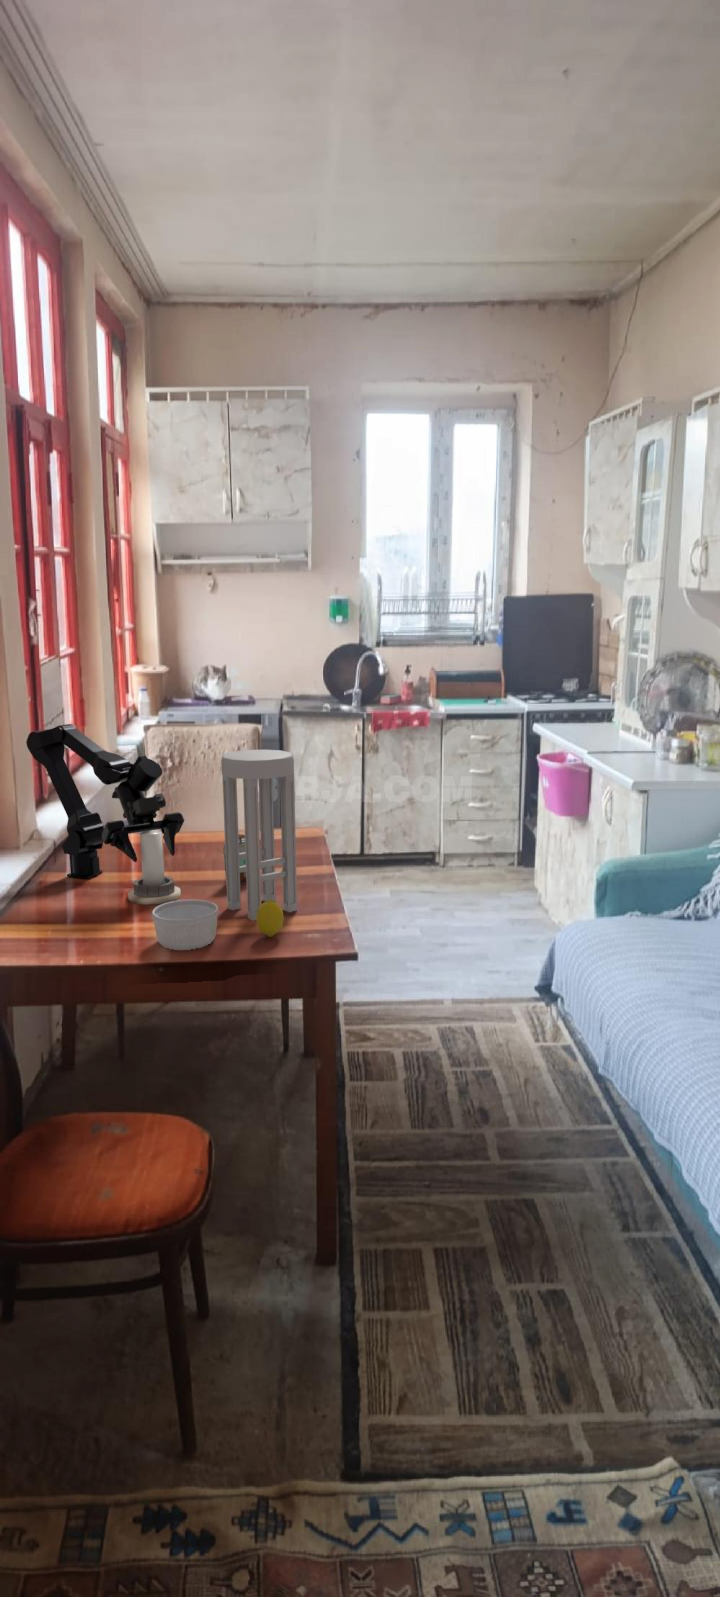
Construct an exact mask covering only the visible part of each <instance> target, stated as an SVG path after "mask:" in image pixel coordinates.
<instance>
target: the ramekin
mask: <svg viewBox="0 0 720 1597" xmlns="http://www.w3.org/2000/svg"><path fill="white" fill-rule="evenodd" d="M218 916H219V906H218V905H217V904H216V903H215V902H212V901H208V900H203V899H177V900H174V901H171V902H168V903H162V904H158V905H157V906H155V908H154V909H152V911H151V918H152V921H153V924H154V931H155V936H156V939H157V941H158V944H160V945H161V946H162V947H163V948H165V949H167V948H169V949H168V950H172V949H173V950H174V951H191V949H193V950H197V949H196V948H198V949H202V948H205V947H206V945H207V946H208V944H209V945H210V944H211V943H213V941H214V940H215V937H216V935H217V928H218V927H217V926H218ZM204 946H205V947H204Z"/></svg>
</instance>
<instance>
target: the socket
mask: <svg viewBox="0 0 720 1597" xmlns="http://www.w3.org/2000/svg"><path fill="white" fill-rule="evenodd" d="M164 877H165V882H166V884H163V885H158V886H144V885H142V883H143V877H140V878H137V879H136V880H134V881H133V884H132V885H133V888H132V889H131V890H129V891H128V893H127V898H128V901H129V902H131V903H133V904H137V905H148V906H149V905H161V904H164V903H168V902H172V901H178V900H179V899H180V898H181V894H182V893H181V888H180V887H179V886H175V878H173V877H171V876H165V875H164Z"/></svg>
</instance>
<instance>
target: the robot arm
mask: <svg viewBox="0 0 720 1597" xmlns="http://www.w3.org/2000/svg"><path fill="white" fill-rule="evenodd" d="M25 743H26V747H27V749H28V751H29V753H30V754H31V756H32V757H33V759H34V760H35V761H37V763H39V764H40V765H42V766H43V767H44V768H45V770H46V772H47V775H48V776H49V779H50V782H51V783H52V785H53V786H52V787H53V788H54V790H55V792H56V794H57V796H58V798H59V800H60V803H61V805H62V807H63V810H64V811H65V813H66V816H67V824H66V825H67V826H66V831H67V835H68V836H67V838H66V839H65V841H64V842H63V843H62V845H61V848H62V851H63V853H64V854H65V855H69V866H70V869H69V870H70V872H69V873H67V874H66V877H69V878H78V879H84V880H85V879H90V878H93V877H94V876H98V875H100V874H103V870H101V869H100V857H99V856H98V855H99V854H98V850H102V849H103V845H110V846H111V847H115V848H116V849H118V850H119V851H121V852H122V853H123V854H125V855H126V856H127V857H128V858H129V859H130V860H131V861H133V862H134V863H137V862H138V857H137V854H136V851H135V848H134V847H133V844H132V843H131V840H130V837H129V834H135V833H141V832H145V831H159V830H160V831H161V832H162V840H163V841H164V843H165V845H166V848H167V850H168V852H169V854H170V855H171V856H172V857H173V856H175V854H176V852H175V851H176V850H175V849H176V848H175V847H176V846H175V843H176V840H175V839H176V838H175V837H176V834H179V833H180V831H181V829H182V827H183V825H184V822H185V818H184V816H183V814H182V813H181V812H179V811H176V812H169V813H165V814H164V816H163V818H162V819H161V820H154V819H156V818H157V816H158V814H157V812H159V811H161V809H163V808H164V807H166V805H167V802H166V798H165V796H164V794H163V793H157V794H155V795H153V796H152V797H151V796H150V797H145V794H144V793H143V792H148V791H149V790H150V789H151V788H152V787H153V786H154V785H155V783H156V782H157V781H158V780H159V779H160V777H161V776H162V775H163V769H162V767H161V765H160V764H159V763H157V762H156V761H155V760H153V759H150V758H148V757H147V756H146V754H143V755H139V756H138V757H137V758H136V760H135V762H134V763H131V762H130V760H128V759H127V758H126V757H124V756H122V755H120V754H117V753H113V752H109V751H107V750H105V749H103V747H101V746H100V745H98V744H97V743H96V742H94V741H93V740H92V739H91V738H89V737H88V736H87V735H85V734H84V733H83V732H81V731H80V730H79V729H78V728H77V726H76V725H74V724H73V723H70V724H69V723H66V724H60V725H57V726H55V727H52V728H49V729H41V730H34V731H31V732H30V733H29V734H28V736H27V738H26V742H25ZM66 747H67V748H68V749H69V750H70V751H72V752H73V753H75V754H76V755H77V756H78V757H79V758H81V759H82V760H84V762H86V763H88V764H89V765H90V767H92V769H93V771H92V772H93V773H94V775H95V776H96V777H97V778H98V780H99V781H100V782H101V783H102V784H104V785H107V786H108V785H113V784H118V783H119V784H118V786H115V787H114V791H113V792H112V795H111V798H112V799H119V803H120V806H121V807H122V810H123V814H122V816H123V819H126V821H127V824H125V822H124V820H121V819H120V820H114V821H107V822H106V823H105V824H104V823H103V821H102V819H101V815H100V814H99V813H98V811H96V812H91V811H90V810H89V809H88V808H87V806H86V805H85V802H84V800H83V798H82V795H81V793H80V791H79V789H78V786H77V785H76V782H75V781H74V779H73V775H72V774H71V772H70V769H69V768H68V765H67V763H66V760H65V750H66Z"/></svg>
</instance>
